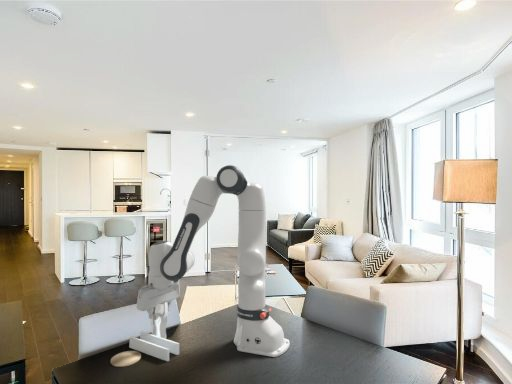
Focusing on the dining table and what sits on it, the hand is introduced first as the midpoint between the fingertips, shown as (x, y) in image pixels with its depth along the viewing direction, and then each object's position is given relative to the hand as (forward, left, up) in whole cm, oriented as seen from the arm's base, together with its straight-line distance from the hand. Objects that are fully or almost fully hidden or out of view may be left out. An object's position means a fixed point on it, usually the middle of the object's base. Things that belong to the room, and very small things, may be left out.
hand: (159, 314), depth 123 cm
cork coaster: (-2, +17, -10) cm, 20 cm away
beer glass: (0, 0, -10) cm, 10 cm away
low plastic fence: (-6, +8, -10) cm, 14 cm away
